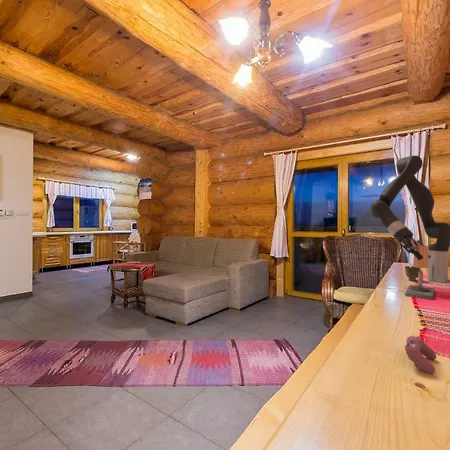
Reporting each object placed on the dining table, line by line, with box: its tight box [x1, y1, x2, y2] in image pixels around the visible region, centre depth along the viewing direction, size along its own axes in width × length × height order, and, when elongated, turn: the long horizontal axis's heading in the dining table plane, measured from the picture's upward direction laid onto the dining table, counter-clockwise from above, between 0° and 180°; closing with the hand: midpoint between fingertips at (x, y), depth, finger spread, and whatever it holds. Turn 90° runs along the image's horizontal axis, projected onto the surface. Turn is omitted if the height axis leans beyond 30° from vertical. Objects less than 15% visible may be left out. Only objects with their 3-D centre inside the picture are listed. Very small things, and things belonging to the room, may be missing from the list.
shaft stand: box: [404, 269, 435, 301], centre depth 133 cm, size 20×10×11 cm, turn 142°
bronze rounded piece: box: [404, 265, 422, 282], centre depth 161 cm, size 8×7×8 cm
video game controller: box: [404, 335, 437, 375], centre depth 68 cm, size 10×5×7 cm, turn 141°
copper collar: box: [412, 245, 429, 269], centre depth 133 cm, size 6×6×10 cm
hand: (425, 258), depth 131 cm, fingers closed on copper collar, 5 cm apart
